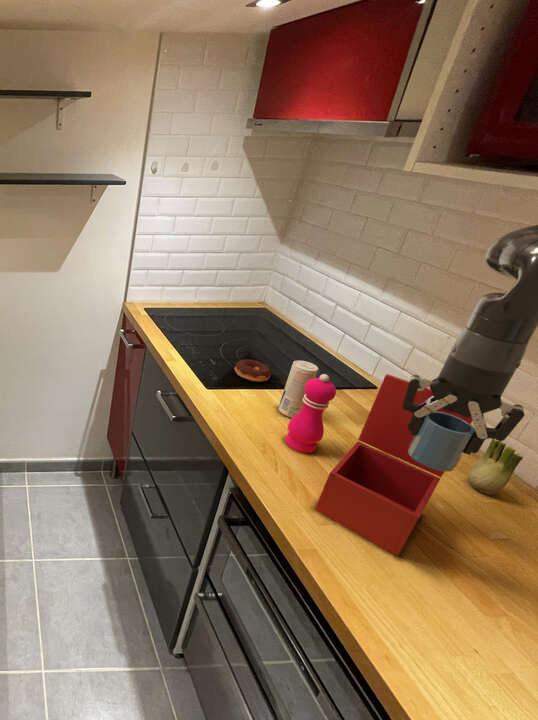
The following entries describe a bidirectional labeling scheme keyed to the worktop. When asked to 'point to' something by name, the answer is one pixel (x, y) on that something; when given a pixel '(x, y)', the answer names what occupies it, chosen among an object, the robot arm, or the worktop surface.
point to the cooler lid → (396, 420)
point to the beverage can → (296, 387)
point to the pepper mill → (310, 415)
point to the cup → (441, 441)
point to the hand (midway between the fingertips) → (438, 441)
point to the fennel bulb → (494, 468)
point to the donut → (252, 370)
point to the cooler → (376, 496)
